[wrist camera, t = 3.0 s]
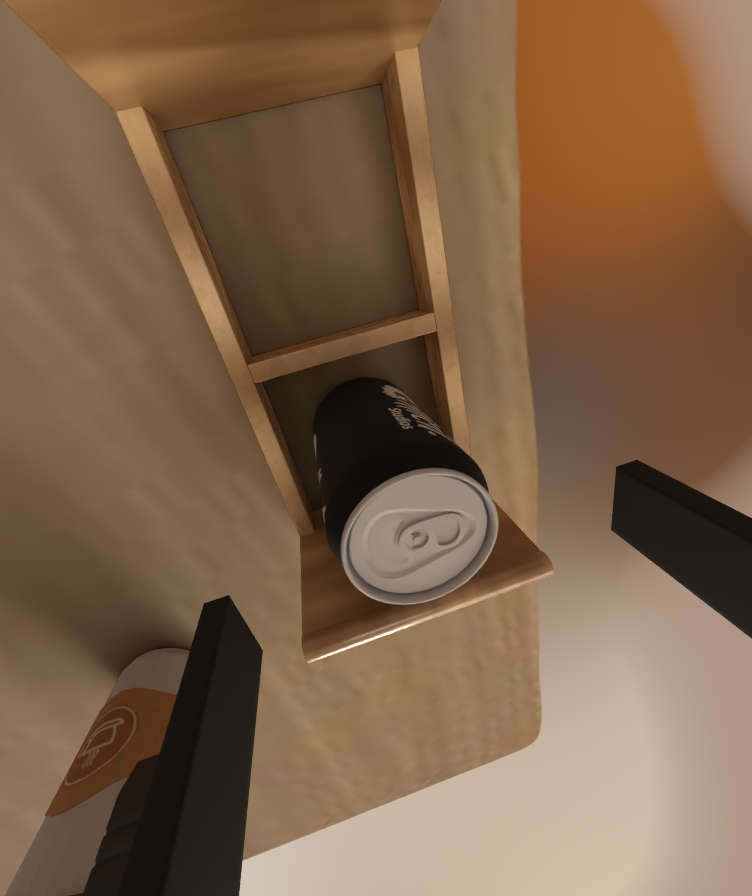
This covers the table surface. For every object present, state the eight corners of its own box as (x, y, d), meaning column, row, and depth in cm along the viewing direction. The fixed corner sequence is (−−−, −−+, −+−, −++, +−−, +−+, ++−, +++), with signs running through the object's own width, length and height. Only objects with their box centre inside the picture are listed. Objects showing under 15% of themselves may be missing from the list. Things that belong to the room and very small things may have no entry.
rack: (126, 104, 15) (-161, -212, 5) (396, 47, 16) (545, -302, 6) (304, 526, 25) (310, 669, 16) (460, 475, 26) (554, 580, 17)
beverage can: (301, 386, 21) (307, 487, 10) (406, 365, 22) (512, 439, 11) (324, 479, 24) (348, 633, 13) (416, 457, 25) (508, 586, 14)
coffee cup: (184, 619, 26) (72, 961, 13) (244, 677, 30) (205, 988, 17) (80, 668, 26) (-141, 1064, 13) (153, 720, 30) (42, 1067, 17)
